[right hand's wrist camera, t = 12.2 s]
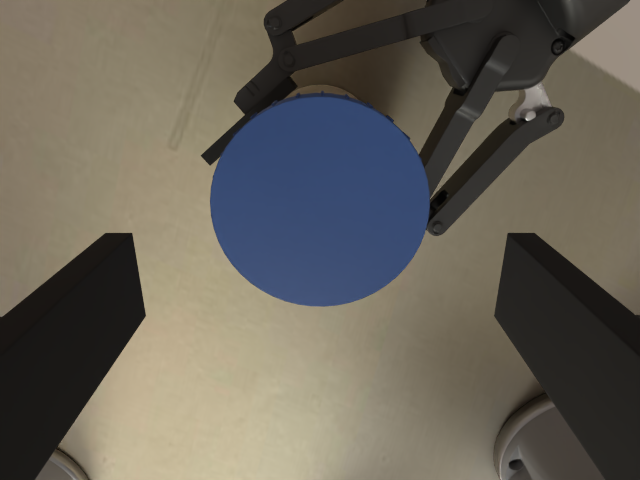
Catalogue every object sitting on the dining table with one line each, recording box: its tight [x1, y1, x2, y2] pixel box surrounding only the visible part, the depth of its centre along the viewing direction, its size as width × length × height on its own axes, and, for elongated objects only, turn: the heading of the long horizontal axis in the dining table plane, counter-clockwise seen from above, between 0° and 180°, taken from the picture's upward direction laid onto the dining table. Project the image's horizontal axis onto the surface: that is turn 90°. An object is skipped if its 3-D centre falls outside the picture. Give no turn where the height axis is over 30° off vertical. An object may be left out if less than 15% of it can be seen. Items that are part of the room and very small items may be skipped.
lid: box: [210, 91, 430, 306], centre depth 20 cm, size 9×9×2 cm
